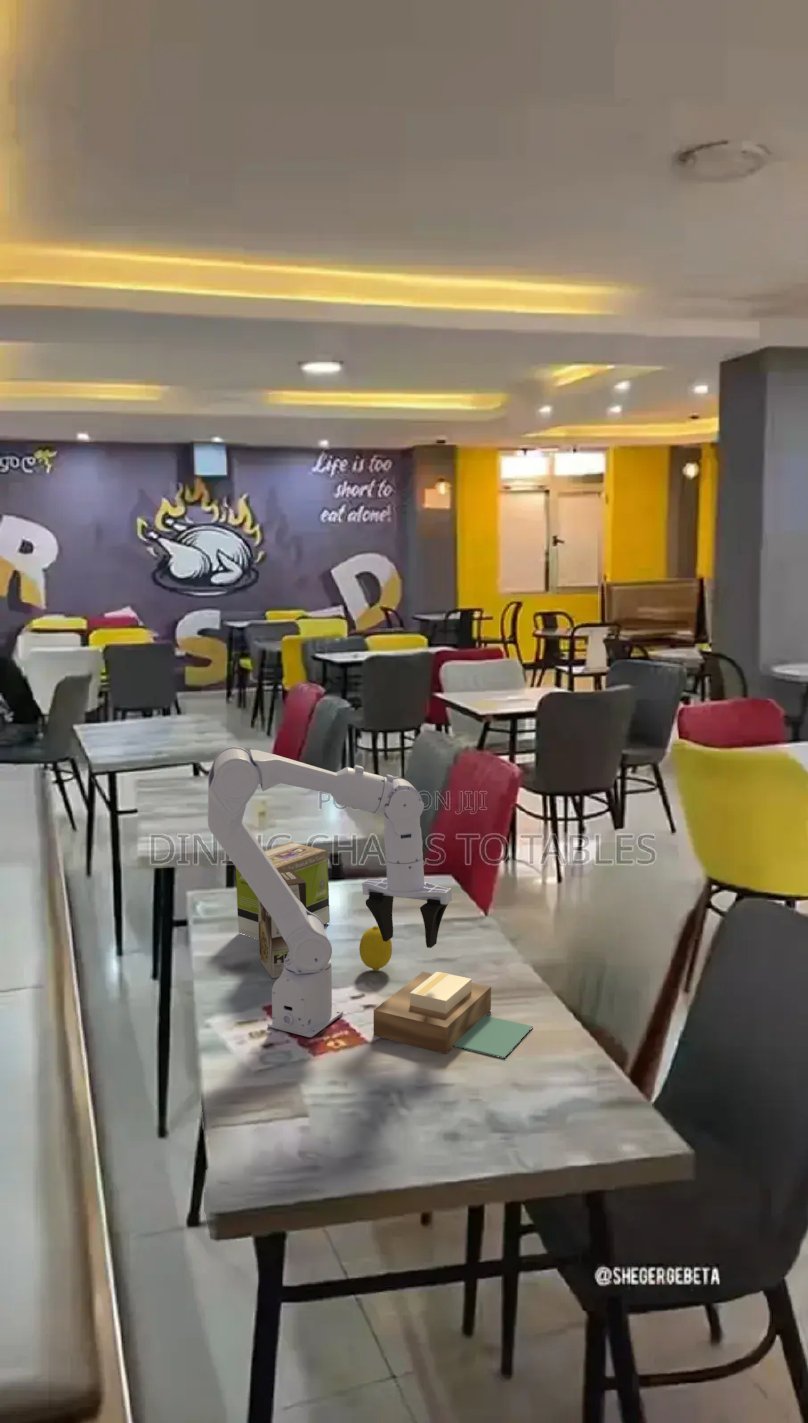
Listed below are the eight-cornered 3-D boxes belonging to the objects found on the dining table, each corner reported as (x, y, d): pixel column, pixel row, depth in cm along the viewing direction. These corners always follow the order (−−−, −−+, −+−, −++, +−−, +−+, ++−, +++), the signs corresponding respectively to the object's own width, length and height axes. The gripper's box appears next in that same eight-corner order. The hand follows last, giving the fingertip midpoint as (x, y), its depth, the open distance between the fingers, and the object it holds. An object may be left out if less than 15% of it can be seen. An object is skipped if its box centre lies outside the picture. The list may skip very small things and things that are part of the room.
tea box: (293, 912, 212) (292, 839, 210) (330, 924, 206) (330, 849, 204) (236, 934, 201) (234, 857, 198) (273, 947, 195) (272, 868, 192)
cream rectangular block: (446, 1013, 159) (446, 1000, 158) (410, 1005, 161) (410, 992, 161) (471, 991, 166) (471, 978, 166) (436, 983, 169) (436, 971, 169)
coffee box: (308, 973, 183) (307, 882, 180) (271, 979, 180) (269, 886, 178) (293, 954, 191) (292, 866, 188) (258, 959, 189) (256, 870, 186)
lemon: (378, 980, 180) (378, 934, 179) (353, 971, 183) (352, 927, 182) (398, 969, 184) (398, 925, 183) (373, 961, 188) (373, 918, 186)
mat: (504, 1058, 153) (504, 1056, 153) (453, 1046, 157) (453, 1044, 157) (532, 1028, 163) (532, 1026, 163) (484, 1016, 167) (484, 1014, 167)
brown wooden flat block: (446, 1053, 155) (446, 1027, 154) (373, 1035, 160) (373, 1009, 160) (490, 1010, 169) (491, 986, 168) (422, 995, 174) (422, 971, 174)
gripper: (458, 854, 165) (462, 938, 167) (375, 846, 171) (381, 927, 174) (438, 868, 159) (443, 955, 161) (353, 859, 165) (359, 943, 168)
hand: (409, 942), depth 167 cm, fingers open, 7 cm apart
